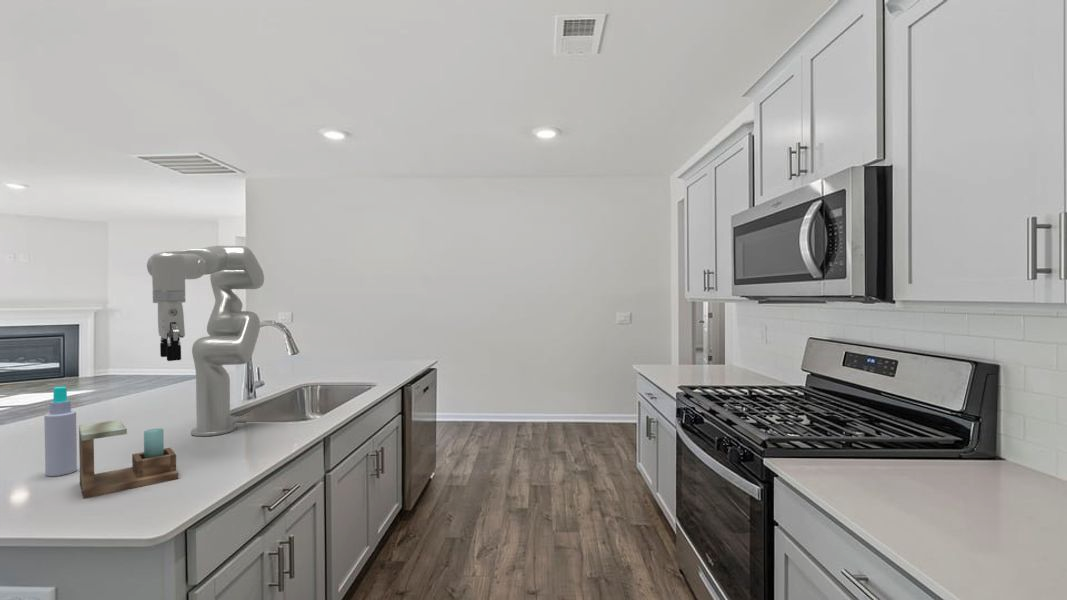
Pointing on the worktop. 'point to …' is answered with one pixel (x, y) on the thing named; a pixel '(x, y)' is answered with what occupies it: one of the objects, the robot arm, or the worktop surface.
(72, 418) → the spray bottle
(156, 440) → the peg
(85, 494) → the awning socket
